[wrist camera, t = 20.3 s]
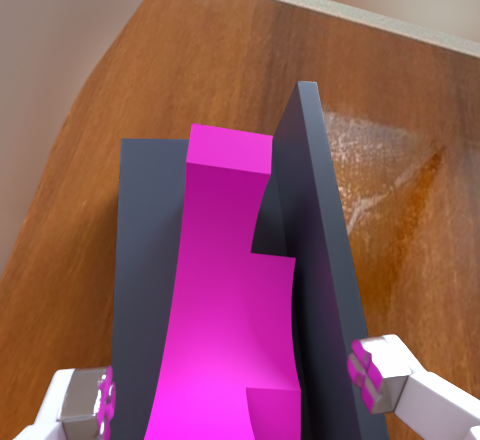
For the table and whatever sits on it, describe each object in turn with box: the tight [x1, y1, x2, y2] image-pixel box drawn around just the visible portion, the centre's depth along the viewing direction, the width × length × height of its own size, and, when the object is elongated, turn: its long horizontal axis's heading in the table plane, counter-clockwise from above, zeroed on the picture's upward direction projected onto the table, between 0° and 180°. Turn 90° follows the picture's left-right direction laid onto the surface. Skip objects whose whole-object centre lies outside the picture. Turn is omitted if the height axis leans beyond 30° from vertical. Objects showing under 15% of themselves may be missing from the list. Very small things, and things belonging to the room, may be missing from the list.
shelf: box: [109, 81, 389, 440], centre depth 19 cm, size 12×24×12 cm, turn 5°
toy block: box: [144, 123, 301, 440], centre depth 15 cm, size 15×6×8 cm, turn 176°
